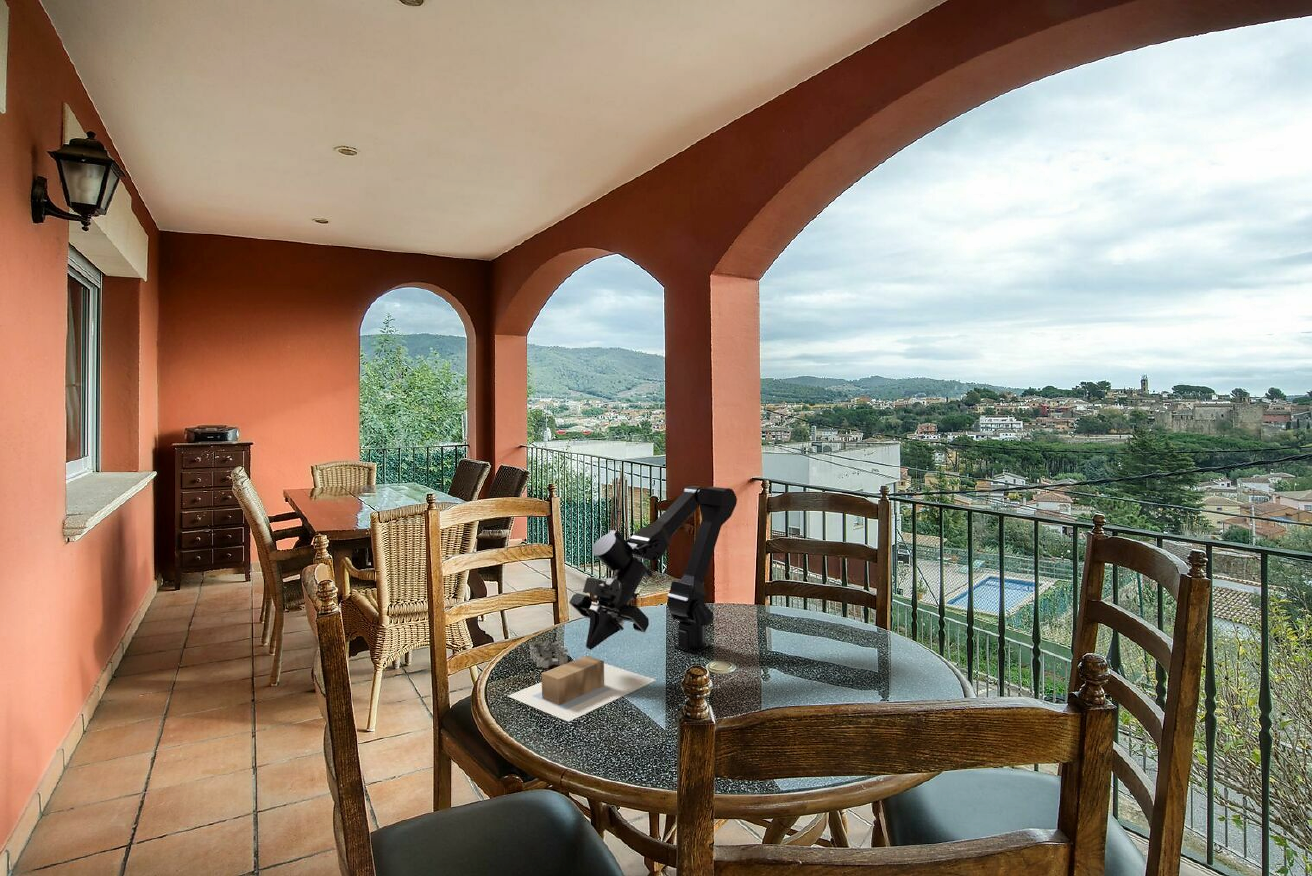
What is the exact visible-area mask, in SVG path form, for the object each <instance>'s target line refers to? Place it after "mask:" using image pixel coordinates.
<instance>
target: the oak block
mask: <svg viewBox="0 0 1312 876" xmlns="http://www.w3.org/2000/svg"><path fill="white" fill-rule="evenodd" d="M604 663H605V662H604V660H602V659H599V658H596V657H593V656H590V655H583V656H582V657H579V658H577V659H574V660H572V661H569V662H567V663H565V664H564V665H561V666H559V665H558V666H556V667H554V668H552V669H549V670H546V671H544V672H541V682H542V699H545V700H547V701H550V702H552V703H555V704H557V705H561V704H563V703H566V702H568V701H570V700H572V699H575V698H577V697H579V696H581V695H584V694H586V693H588V692H590V691H593V690H595V689H597V688H599V687H602V686H604Z"/></svg>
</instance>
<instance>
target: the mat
mask: <svg viewBox="0 0 1312 876" xmlns="http://www.w3.org/2000/svg"><path fill="white" fill-rule="evenodd" d="M656 681H657V679H654V678H651V677H648V676H645V675H642V674H640V673H637V672H636V673H635V672H633V671H629V670H626V669H623V668H621V667H618V666H615V665H612V664H607V663H605V662H604V686H602V687H599V688H597V689H595V690H593V691H590V692H588V693H586V694H584V695H581V696H579V697H577V698H575V699H572V700H570V701H568V702H566V703H563V704H561V705H557V704H555V703H552V702H550V701H547V700H545V699H542V681H540V682H538V683H536V684H533V685H531V686H529V687H526V688H523V689H521V690H518V691H516V692H513V693H510V694H507V697H508V698H511V699H513V700H516V701H518V702H520V703H523V704H525V705H527V706H530V707H532V708H534V709H537V710H540V711H541V712H544V713H546V714H549V715H552V716H553V717H556V718H559V719H561V720H563V721H566V722H568V723H569V722H571V721H573V720H575V719H578V718H579V717H581V716H584V715H586V714H589V713H590V712H592V711H595V710H596V709H599V708H600V707H603V706H605V705H607V704H609V703H611V702H614V701H616V700H617V699H619V698H622V697H625V696H627V695H628V694H630V693H632V692H634V691H637V690H639V689H641V688H643V687H646V686H647V685H649V684H651V683H654V682H656Z"/></svg>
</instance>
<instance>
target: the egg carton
mask: <svg viewBox="0 0 1312 876" xmlns="http://www.w3.org/2000/svg"><path fill="white" fill-rule="evenodd" d="M529 650H530V651H529V652H530V660H533V662H534V663H536V667H537V668H543V669H548V668H550V667H551V666H558V667H559V666H561V665H564V664H566V663H568V659H569V657H568V654H567V653H569V652H568V648H567V647H565V646H563V645H561V644H559V642H558V641H556V640H555V642H553V643H552V642H551V641H550V640H548V641H542V642H541V641H538V642H532V641H529ZM552 652H554V654H556V656H557V658H556V657H553V653H552ZM540 655H542V656H540Z"/></svg>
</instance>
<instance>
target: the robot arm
mask: <svg viewBox="0 0 1312 876" xmlns="http://www.w3.org/2000/svg"><path fill="white" fill-rule="evenodd" d="M737 502H738V498H737V495H736V493H735V491H734V490H733V488H728V487H719V486H718V487H717V486H708V487H706V488H705V487H704V486H703V487H702V486H697V485H690V486H686V487H685V488H684V489H683V491H682V493H680V495H679V496H678V497H677V498H676V500H674V502H673V503H672V504H671V505H670V506H668V508H667V509H666V510H665V511H664V512H663V513H662V514H661V515H660V516H659V517H658V518H657V519H656V520H655V521H654V522H652V523H650V524H648V525H646V526H643V527H642V528H640V529H639V530H638V531H636V532H635V533H633V534H632V536H631V537H629V538H627V539H625V538H624V537H623V536H622V534H621V533H620V532H619V530H615V529H610V531H609V532H608V533H606V534H605V535H602V536H600V538H599V539H597V540H596V541H595V542H594V544H593V547H592V553H593V555H594V556H595V557H596V558H597V559H598V560H599V561H600V562H602V564H603V565H604V566H605V567H606V568H607V569H608V570H610V571H611V572H612V571H615V573H614V574H613V576H612V577H607V578H605V579H604V580H602V579H599V578H594V577H588V576H587V577H586V580H585V582H584V586H583V590H582V593H579V592H578V593H575V594H573V595H572V597H571V599H570V600H569V602H568V603H569V605H571V607H572V608H574V610H576V611H577V612H578V613H579V614H580V615H581V616H583V617H584V618H587V619H589V627H588V633H587V638H586V644H585V647H586V649H587V650H590V651H592V650H593V649H594V648H596V647H597V646H598V645H600V644H601V643H603V642H604V641H605V640H607V639H608V638H609V637H611V636H614V635H615V634H616V633H618V632H619V631H623V630H624V629H625V628H624V627H623V626H624V623H625V622H631V623H633V624H632V626H633V630H634V631H636V632H640V633H646V631H647V629H648V627H649V625H650V620H649V617H648V616H647V615H646V614H645V613H644V612H643V611H642V610H641V609H640V608H639V607H638V606H635V605H630V602H631V600H632V601H636V599H637V597H638V595H637V594H636V591H637V589H638V587H639V586H640V584H641V582H642V579H643V578H653V571H652V569H651V568H652V567H651V564H646V563H644V561H642V560H646V561H650V562H657V561H659V560H660V559H662V557H663V556H664V554H665V553H666V552H667V550H668V548H669V547H670V543H671V538H672V537H673V535H674V534H676V532H677V531H678V530H679V529H680V527H682V525H684V523H685V522H686V521H687V520H688V519H689V518H690V516H692V514H694V513H695V511H697V510H698V508H699V511H700V517H701V520H700V524H699V527H698V530H697V533H696V535H695V540H694V542H693V546H692V549H691V551H690V555H689V558H688V561H687V565H686V568H685V569H684V574H683V576H682V577H681V578H680V579H679V580H673V581H672V582H671V584H670V588H669V591H668V593H667V595H666V597H667V602H666V606H667V607H668V611H669V613H670V615H671V618H672V619H673V620H674V621H679V622H678V630H677V640H678V641H677V643H675V644H674V645H673V648H674V649H679V650H683V651H686V652H690V653H694V654H696V653H698V652H701V651H702V650H705V649H707V648H710V647H711V646H712V643H710V642H707V640H706V639H707V638H706V637H707V635H706V633H707V632H706V626H708V625H709V624H711V623H712V622H713V618H714V613H713V612H712V610H710V609H709V607H708V606H707V605H706V599H707V593H706V588H705V580H706V576H707V573H708V570H709V567H710V564H711V561H712V557H713V554H714V551H715V549H716V544H717V542H718V538H719V534H720V531H721V529H722V526H723V525H724V524H725V523H726V522H727V521H728V520H729V519H730V518H731V517H732V515H733V513H734V511H735V508H736V506H737ZM588 594H590V595H593V597H592V598H593V599H594V600H593V599H592V598H591V596H589V595H588ZM595 601H598V602H595Z"/></svg>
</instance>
